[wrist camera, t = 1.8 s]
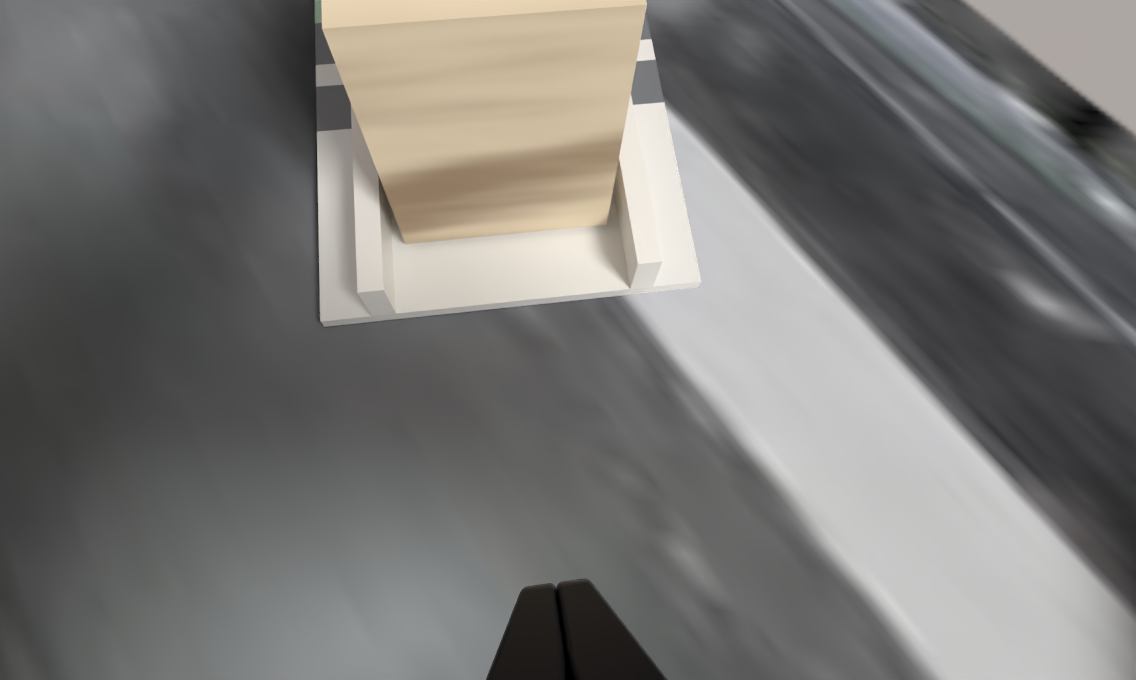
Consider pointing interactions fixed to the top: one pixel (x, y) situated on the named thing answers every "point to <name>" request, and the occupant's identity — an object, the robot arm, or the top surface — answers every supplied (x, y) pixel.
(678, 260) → the track
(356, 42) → the maple block
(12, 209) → the top surface
